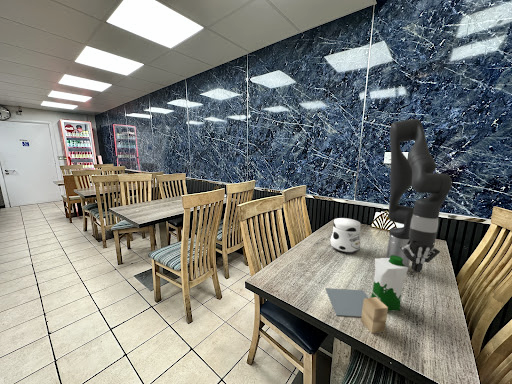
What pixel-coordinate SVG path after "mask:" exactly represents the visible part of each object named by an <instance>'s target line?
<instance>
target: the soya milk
mask: <svg viewBox="0 0 512 384" xmlns="http://www.w3.org/2000/svg"><path fill="white" fill-rule="evenodd" d="M374 267H375V268H374V271H375V272H374V278H373V286H372V291H371V296H370V298H373V297H377V298H378V299H379V300H380V301H381V302H382V303H383V304H385V305H386V306H387V307H388V311H387V312H398V311H401V301H402V300H401V299H402V294H403V293H402V292H403V287H404V281H405V277H406V275H407V272H408V270H409V268H407V267H406V266H405V265H403V259H402V258H401V257H399V256H395V255H391V256H390V258H386V257H380V258H377V257H376V258H374Z"/></svg>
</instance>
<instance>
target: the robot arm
mask: <svg viewBox="0 0 512 384" xmlns="http://www.w3.org/2000/svg"><path fill="white" fill-rule="evenodd" d="M411 141H414V144H413V146H412V147H411V149H410V150H409V152H408V153H407V154H408V155H407V157H406V156H405V155H404V152H403V151H402V148H401V143H404V142H411ZM389 143H390V144H389V145H390V173H389V174H390V175H389V177H390V179H389V180H390V184H389V185H390V196H389V203H388V219H389V221H390V222H393V223H396V224H401V225H403V227H393V228H390V230H389V234H388V235H389V236H388V242H387V249H386V255H385V256H386V257H385V258H390V256H391V255H395V256H399V257H401V258H402V259H403V265H405V266H406V267H407V268H408V269H409V267H410V262H411V269H412V271H413V272H414V273H421V271H422V270H423V265H424V264H425V263H430V262H431V261H432V260H433V259H434V258H435V257H437V256H438V255H439V254H440V253H441V251H440V249H437V248H436V247H435V245H434V244H435V242H436V238H437V232H438V227H439V219H440V218H439V216H440V211H441V207H442V205H443V203H444V202H445V200H446V199H447V196H448V194H449V193H450V191H451V190H452V186H453V180H452V178H451V176H450V175H448V174H447V173H442V172H441V173H440V172H439V173H437V172H435V171H436V169H437V164H436V162H435V160H434V158H433V156H432V154H431V152H430V150H429V146H428V144H427V143H428V142H427V137H426V134H425V130H424V127H423V124H422V121H421V120H420V119H418V118H412V119H406V120H405V119H404V120H401V121H395V122H393V123H391V125H390V127H389ZM433 172H435V173H433ZM410 188H412V189H413V190H414V192H417V193H420V194H422V193H423V194H430V195H429V196H428V197H426V198H425V197H424V198H420V199H418V198H417V200H415V201H414V206H413V207H412V206H406V205H401V204H400V200H401V198H402V196H403V195H405V193H406V192H407V191H408V190H409V189H410Z"/></svg>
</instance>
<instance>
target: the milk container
mask: <svg viewBox="0 0 512 384" xmlns="http://www.w3.org/2000/svg"><path fill="white" fill-rule="evenodd" d="M332 225H333V227H332V234H331V236H330V245H331V247H332V248H334V249H335V250H336V251H339V252H342V253H348V254H349V253H352V254H353V253H356V252H358V251H359V250H360V248H361V238H360V236H361V228H362V227H361V226H362V225H361V222H360V221H358V220H355V219H352V218H347V217H346V218H345V217H339V218H338V217H337V218H335V219H334V220H333V224H332Z"/></svg>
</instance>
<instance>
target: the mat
mask: <svg viewBox="0 0 512 384" xmlns="http://www.w3.org/2000/svg"><path fill="white" fill-rule="evenodd" d="M325 291H326V294H327V296H328V299H329V301H330V304H331V307H332V308H333V311H334V313H335V316H337V317H347V318H348V317H350V318H361V317H362V309H363V301H364V299H366V298H369V297H368V295H367V294H366V293H365V291H364V290H363V289H349V288H348V289H347V288H328V287H326V288H325Z"/></svg>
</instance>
